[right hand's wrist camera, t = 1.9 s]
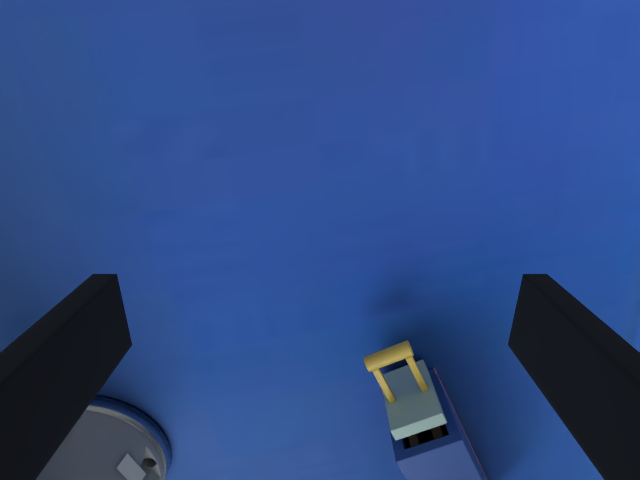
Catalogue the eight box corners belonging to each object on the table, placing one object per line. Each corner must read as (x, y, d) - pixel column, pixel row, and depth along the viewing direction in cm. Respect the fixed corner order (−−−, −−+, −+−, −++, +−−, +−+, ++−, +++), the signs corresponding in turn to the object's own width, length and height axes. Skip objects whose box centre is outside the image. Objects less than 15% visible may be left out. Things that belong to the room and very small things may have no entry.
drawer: (357, 334, 37) (364, 385, 30) (402, 316, 36) (419, 365, 30) (441, 490, 44) (460, 556, 38) (480, 478, 44) (506, 543, 37)
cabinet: (381, 387, 40) (395, 462, 32) (434, 367, 39) (463, 439, 31) (444, 502, 47) (469, 589, 39) (491, 488, 46) (526, 573, 38)
